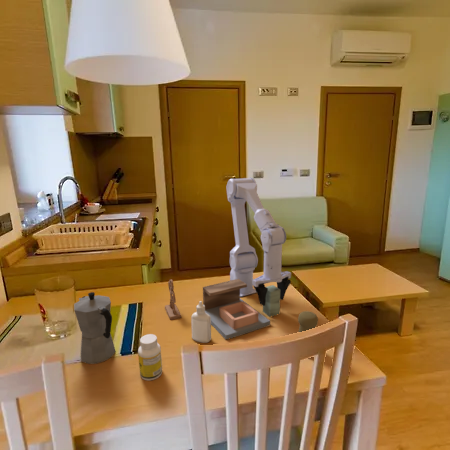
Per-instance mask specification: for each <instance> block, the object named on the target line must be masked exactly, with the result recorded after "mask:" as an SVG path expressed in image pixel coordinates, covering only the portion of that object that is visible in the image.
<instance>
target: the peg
mask: <svg viewBox="0 0 450 450" xmlns="http://www.w3.org/2000/svg"><path fill="white" fill-rule="evenodd" d="M265 287H266V288H268V290H267V293H266V303H265V305H264V306H263V305H262V313H264V314H265V315H267V316H268V317H269V318H272V317H275V316H277V314H278V315H280V307H281V300H280V289H279V288H277V286H275V285H274V284H272V285H268V286H265ZM274 315H275V316H274ZM271 316H272V317H271Z"/></svg>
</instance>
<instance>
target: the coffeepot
mask: <svg viewBox="0 0 450 450" xmlns="http://www.w3.org/2000/svg"><path fill="white" fill-rule="evenodd" d="M95 293H96V292H93V291H92V292H88V293H87V295H85V296H82V297H79V298H78V300H79V301H77V302H75V303H73V310H74V314H75V316H76V317H75V318H76V320H77V324H78V326H79V329H80V332H81V343H80V361H81V362H83V363H84V364H89V365H95V364H100V363H102V362H105V361H107V360H108V359H110V358H112V356H113V355H115V353H116V348H115V344H114V340H113V338H112V334H111V332H112V321H113V316H112V313H111V307H112V305H111V303H112V302H111V298H110V296H105V295H99V294H98V295H95Z"/></svg>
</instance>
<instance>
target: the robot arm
mask: <svg viewBox="0 0 450 450" xmlns="http://www.w3.org/2000/svg"><path fill="white" fill-rule="evenodd" d="M226 197H227V201H228V202H229V203H230V207H231V215H232V216H231V217H232V223H233V233H234V242H235V246H234V247H232V249H231V250H230V251H229V266H230V268H231V270H230V272H229V281H231V280H235V279H240V280H241V281H243V282H244V283H246V284H247V287H245V288H241V289H240V298H241V297H244V296H249V295H253V294H255V293H256V294H257V297H258V301H259V304H260V305H261V306H262V307H263V306H264V305H265V303H266V293H267V290H268V288H266V287H267V286H265V284H269V283H276V285H277V286H276V287H277V288H279V289H280V301H283V300H284V298H285V294H286V292H287V289H288V288H289V286H290V285H291V283H292V282H291V278H292V272H290V271H288V270H286V271H282V258H283V257H282V255H283V245H284V244H285V243H286V241H287V234H286V233H287V232H286V230H285V228H284V227H283V226H281V225H280V224H278V223H276V221H275V219H274V217H273V216H272V214H271V212H270V210H269V209H268V208H267V209H266V208H264V206H263V203H262V200H261V198H260V196H259V195H258V184H257V182H256V180H255V178H253V177H243V178H230V179H228V181H227V184H226ZM246 202H247V204H248V205H249V207H250V208H251V210H252V212H253V213H254V215H253V220H254V222H255V224H256V226H257V227H258V229H259V231H260V233H261V235H260V241H261V244H262V247H261V248H262V251H263V274H262V275H260V276H258V277H256V278H254V271H255V268H257V266H258V262H259V257H258V255H257V253H256V248H255V247H253V246H252V245H250V242H249V241H250V240H249V233H248V231H249V230H248V226H247V225H248V224H247V217H246V216H247V215H246V207H245V204H246Z"/></svg>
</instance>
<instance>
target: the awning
mask: <svg viewBox="0 0 450 450" xmlns="http://www.w3.org/2000/svg"><path fill="white" fill-rule="evenodd" d="M245 287H247V284H246V283H244V282H243V281H241V280H240V279H235V280H231V281H230V280H227V281H223V282H219V283H214V284H209V285H207V286H206V285H205V286H202V304H203V305H205V310H207V309H211V308H214V307H218V306H221V305H225V304H229V303H232V302H236V301H240V299H241V297H240V289H241V288H245Z"/></svg>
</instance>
